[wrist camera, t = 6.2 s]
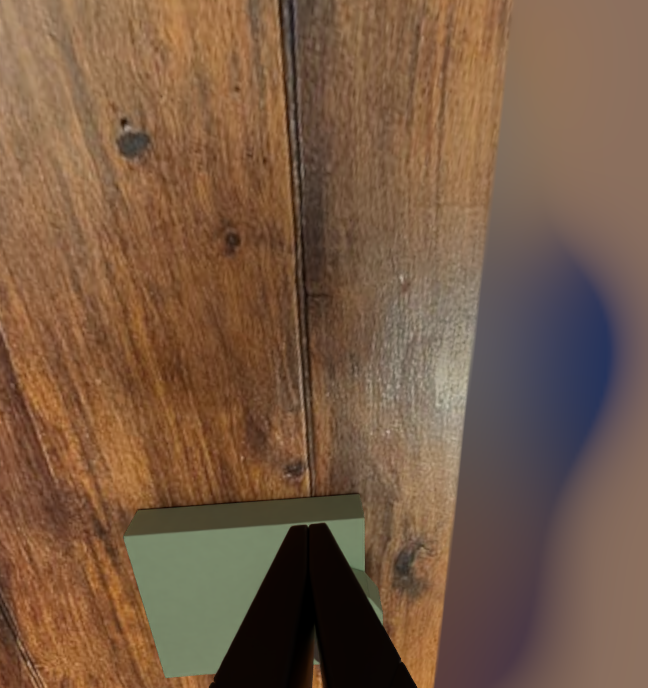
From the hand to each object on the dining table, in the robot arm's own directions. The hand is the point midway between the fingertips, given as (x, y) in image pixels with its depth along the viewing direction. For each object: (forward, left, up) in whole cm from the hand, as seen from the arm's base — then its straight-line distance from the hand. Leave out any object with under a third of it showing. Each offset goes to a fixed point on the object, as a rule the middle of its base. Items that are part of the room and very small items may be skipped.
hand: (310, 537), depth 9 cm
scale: (+4, +15, -11) cm, 19 cm away
